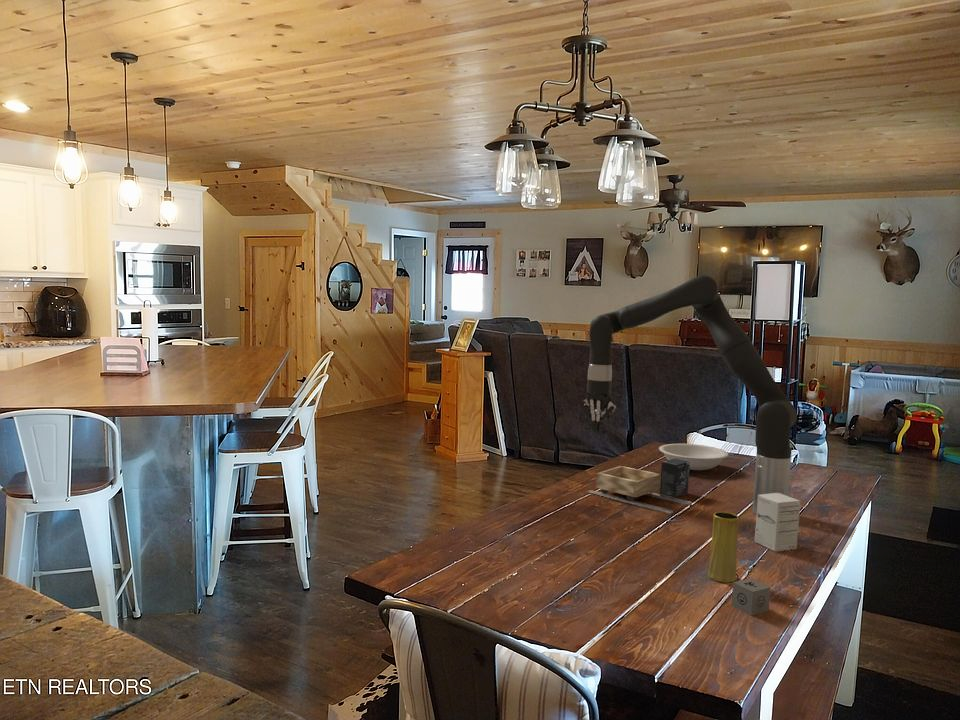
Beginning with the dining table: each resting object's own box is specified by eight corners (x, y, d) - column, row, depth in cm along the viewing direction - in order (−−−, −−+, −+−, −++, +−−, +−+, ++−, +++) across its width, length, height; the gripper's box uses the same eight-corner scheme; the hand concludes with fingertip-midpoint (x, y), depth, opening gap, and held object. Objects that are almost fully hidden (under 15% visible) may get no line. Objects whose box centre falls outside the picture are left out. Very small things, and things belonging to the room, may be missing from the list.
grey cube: (748, 601, 149) (750, 578, 149) (768, 611, 145) (770, 587, 144) (731, 606, 147) (733, 582, 146) (751, 616, 142) (752, 591, 142)
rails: (691, 504, 217) (692, 501, 216) (670, 513, 206) (670, 511, 206) (611, 485, 235) (611, 483, 235) (587, 493, 225) (587, 491, 225)
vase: (713, 570, 165) (717, 509, 164) (740, 577, 162) (744, 515, 160) (703, 577, 161) (707, 515, 159) (730, 585, 157) (734, 521, 155)
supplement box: (753, 542, 185) (756, 494, 184) (776, 539, 188) (779, 491, 186) (774, 552, 178) (778, 502, 177) (797, 549, 181) (801, 500, 179)
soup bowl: (734, 467, 265) (735, 449, 264) (717, 481, 245) (718, 461, 244) (669, 457, 278) (670, 440, 277) (648, 469, 257) (649, 451, 257)
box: (675, 498, 222) (677, 464, 221) (659, 494, 226) (661, 461, 225) (688, 493, 228) (690, 461, 227) (672, 489, 232) (674, 457, 231)
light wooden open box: (659, 493, 224) (660, 474, 223) (636, 502, 213) (637, 482, 213) (619, 484, 233) (620, 465, 233) (595, 492, 223) (596, 473, 222)
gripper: (624, 379, 226) (621, 434, 228) (588, 375, 235) (586, 427, 237) (611, 381, 221) (608, 437, 222) (575, 376, 229) (572, 430, 231)
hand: (596, 432), depth 230 cm, fingers closed
